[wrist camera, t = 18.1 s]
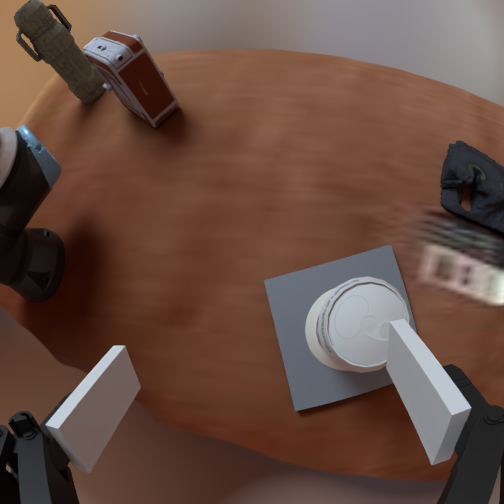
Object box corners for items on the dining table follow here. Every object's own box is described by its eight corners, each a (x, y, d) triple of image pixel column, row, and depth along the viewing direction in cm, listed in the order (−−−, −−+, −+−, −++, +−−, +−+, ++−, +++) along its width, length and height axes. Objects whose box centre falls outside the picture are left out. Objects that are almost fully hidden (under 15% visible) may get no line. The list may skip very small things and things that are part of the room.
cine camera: (142, 79, 61) (103, 21, 42) (187, 105, 54) (145, 30, 36) (113, 104, 60) (68, 50, 41) (153, 135, 54) (100, 67, 35)
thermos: (117, 75, 64) (50, -16, 31) (91, 108, 62) (11, 19, 29) (98, 76, 67) (34, -5, 34) (73, 107, 65) (-1, 28, 32)
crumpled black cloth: (530, 262, 34) (545, 255, 29) (431, 205, 40) (442, 191, 36) (536, 191, 36) (548, 180, 32) (447, 136, 43) (455, 120, 38)
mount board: (295, 408, 36) (295, 411, 35) (265, 282, 42) (263, 280, 40) (421, 369, 34) (425, 371, 33) (388, 247, 40) (390, 243, 38)
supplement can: (305, 345, 37) (301, 352, 23) (331, 286, 38) (342, 257, 24) (362, 369, 35) (391, 388, 20) (387, 310, 36) (428, 294, 22)
